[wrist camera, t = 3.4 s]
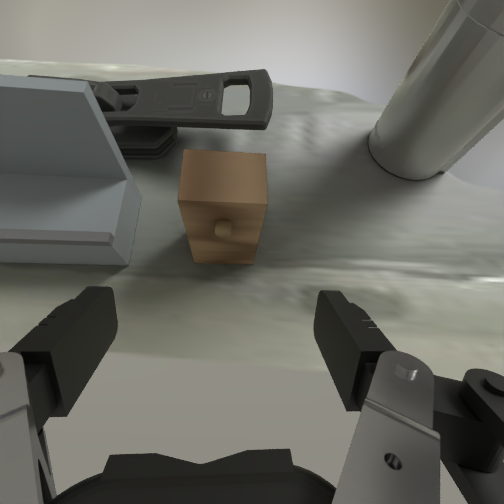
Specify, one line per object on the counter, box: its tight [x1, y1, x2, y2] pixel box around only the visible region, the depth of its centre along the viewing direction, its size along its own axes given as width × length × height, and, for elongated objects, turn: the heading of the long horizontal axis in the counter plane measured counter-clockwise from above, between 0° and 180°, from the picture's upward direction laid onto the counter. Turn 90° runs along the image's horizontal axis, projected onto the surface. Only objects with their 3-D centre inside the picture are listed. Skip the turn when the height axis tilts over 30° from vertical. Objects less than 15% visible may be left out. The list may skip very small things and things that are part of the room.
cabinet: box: [178, 149, 268, 265], centre depth 22 cm, size 5×5×10 cm
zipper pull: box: [27, 69, 273, 159], centre depth 28 cm, size 9×7×25 cm
